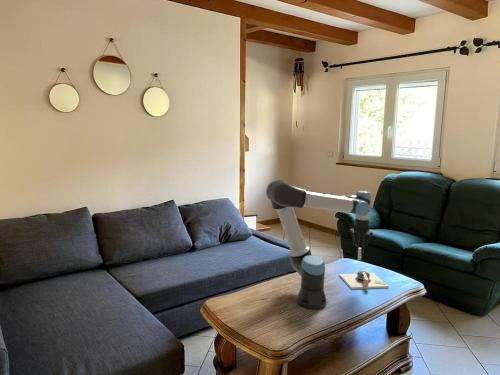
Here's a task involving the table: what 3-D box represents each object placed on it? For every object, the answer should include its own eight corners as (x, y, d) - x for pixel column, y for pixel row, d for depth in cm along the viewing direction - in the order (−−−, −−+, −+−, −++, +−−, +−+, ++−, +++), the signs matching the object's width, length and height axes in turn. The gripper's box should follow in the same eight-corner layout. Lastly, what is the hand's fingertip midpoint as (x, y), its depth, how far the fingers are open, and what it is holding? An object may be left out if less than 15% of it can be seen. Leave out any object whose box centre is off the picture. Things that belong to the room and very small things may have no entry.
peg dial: (356, 276, 219) (356, 269, 218) (368, 277, 218) (368, 270, 217) (360, 287, 203) (360, 279, 203) (373, 288, 202) (373, 280, 202)
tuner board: (351, 289, 204) (351, 286, 204) (339, 275, 223) (339, 273, 223) (389, 287, 207) (389, 285, 207) (374, 274, 226) (374, 272, 225)
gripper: (349, 218, 201) (346, 259, 205) (373, 221, 196) (370, 263, 200) (350, 216, 208) (348, 255, 212) (374, 218, 203) (371, 258, 207)
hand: (359, 259), depth 206 cm, fingers closed
